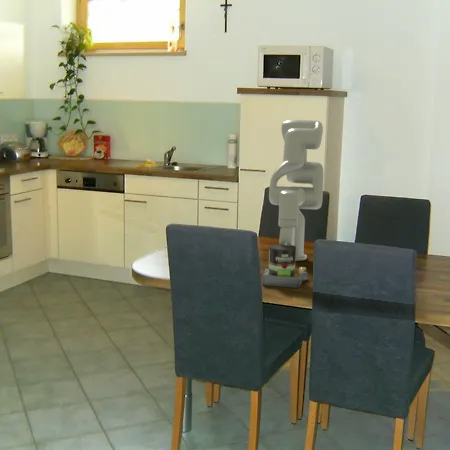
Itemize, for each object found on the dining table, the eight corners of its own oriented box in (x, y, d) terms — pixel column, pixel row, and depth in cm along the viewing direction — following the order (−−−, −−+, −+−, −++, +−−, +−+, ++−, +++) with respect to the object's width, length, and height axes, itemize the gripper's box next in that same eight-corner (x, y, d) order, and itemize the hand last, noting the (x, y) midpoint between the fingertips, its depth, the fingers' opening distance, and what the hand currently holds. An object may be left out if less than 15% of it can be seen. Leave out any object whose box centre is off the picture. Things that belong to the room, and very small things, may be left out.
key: (299, 269, 284) (299, 266, 284) (306, 270, 283) (306, 267, 283) (297, 273, 278) (297, 270, 277) (304, 274, 277) (304, 271, 277)
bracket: (264, 275, 273) (265, 266, 273) (307, 279, 270) (307, 269, 269) (258, 284, 261) (258, 274, 260) (303, 288, 257) (303, 278, 256)
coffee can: (297, 285, 260) (298, 249, 258) (270, 286, 259) (271, 249, 256) (291, 278, 270) (293, 243, 268) (265, 278, 269) (267, 243, 266)
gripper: (281, 217, 275) (280, 261, 280) (275, 225, 261) (274, 272, 265) (300, 218, 274) (298, 263, 278) (295, 227, 259) (293, 273, 264)
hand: (286, 267), depth 272 cm, fingers closed
